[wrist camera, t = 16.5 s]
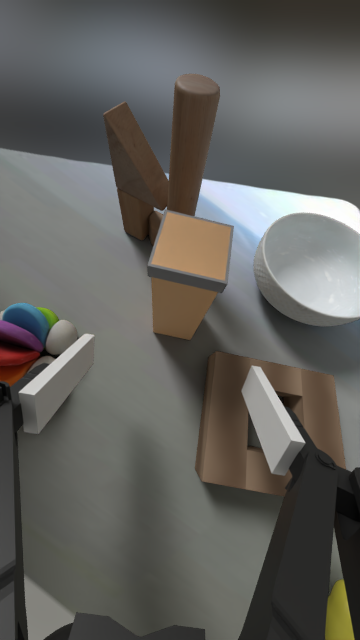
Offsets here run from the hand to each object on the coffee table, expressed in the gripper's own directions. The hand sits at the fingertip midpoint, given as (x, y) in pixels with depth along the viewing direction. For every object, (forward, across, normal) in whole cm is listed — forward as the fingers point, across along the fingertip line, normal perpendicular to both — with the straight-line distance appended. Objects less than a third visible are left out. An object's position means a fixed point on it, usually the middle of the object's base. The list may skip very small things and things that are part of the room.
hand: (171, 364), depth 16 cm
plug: (+11, 0, 0) cm, 11 cm away
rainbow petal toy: (+6, -16, -6) cm, 18 cm away
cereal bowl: (+18, +17, +6) cm, 26 cm away
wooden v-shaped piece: (+20, -5, +9) cm, 23 cm away
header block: (+4, +12, -8) cm, 15 cm away
